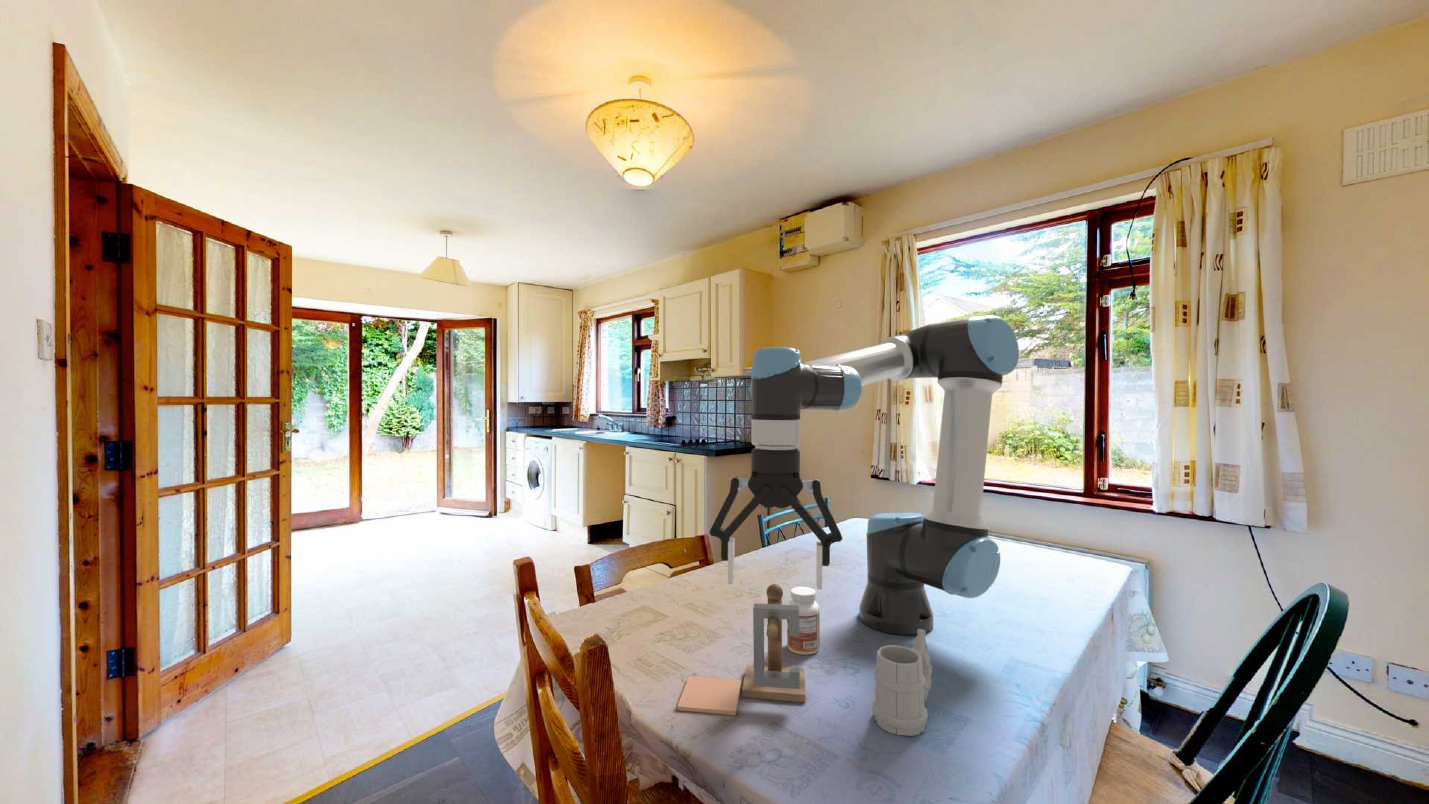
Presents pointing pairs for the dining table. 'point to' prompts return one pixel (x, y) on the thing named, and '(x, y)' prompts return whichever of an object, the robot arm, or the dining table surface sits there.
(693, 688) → the tile
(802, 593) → the pill bottle
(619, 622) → the dining table surface
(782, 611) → the c link
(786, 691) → the hook stand
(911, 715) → the mug
